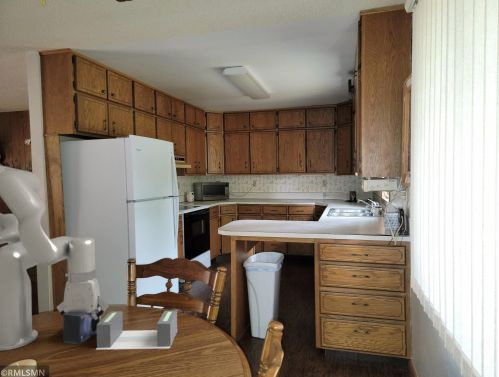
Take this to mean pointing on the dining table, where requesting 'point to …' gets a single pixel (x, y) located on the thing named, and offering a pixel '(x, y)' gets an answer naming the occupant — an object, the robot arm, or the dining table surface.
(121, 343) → the rail board
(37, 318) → the dining table surface
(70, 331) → the small box
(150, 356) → the dining table surface
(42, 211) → the robot arm
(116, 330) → the block
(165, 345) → the block
